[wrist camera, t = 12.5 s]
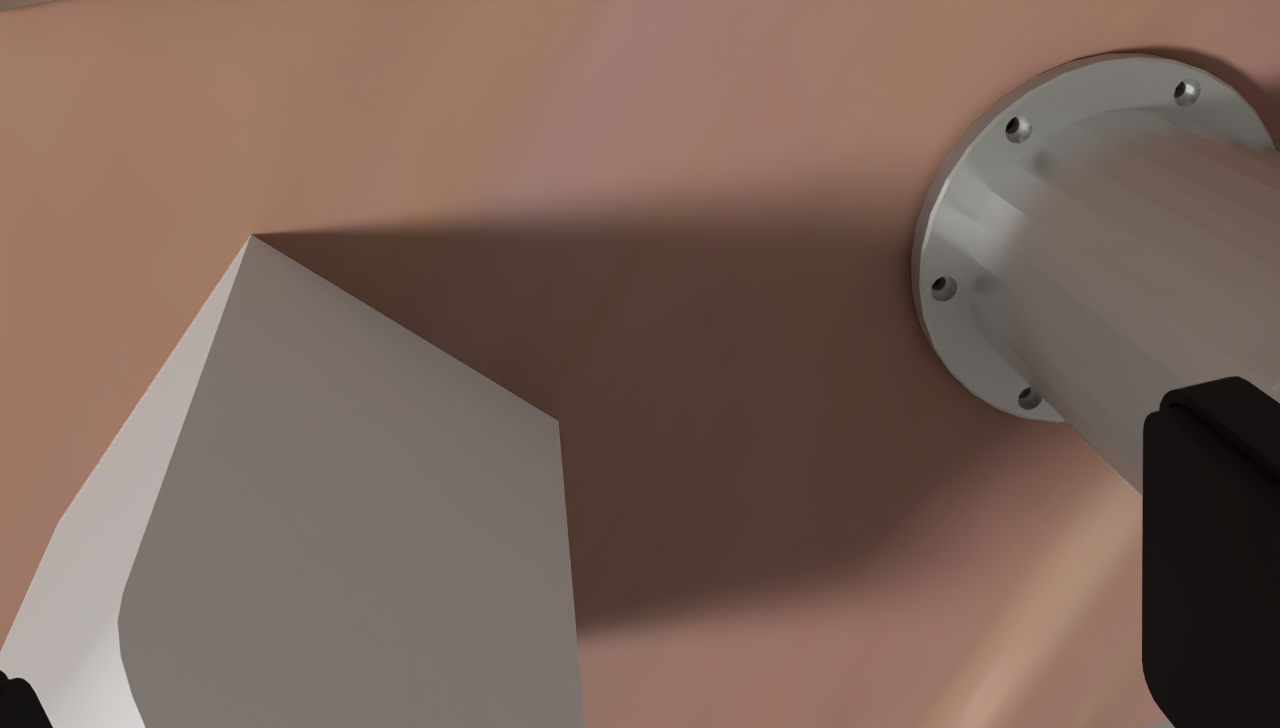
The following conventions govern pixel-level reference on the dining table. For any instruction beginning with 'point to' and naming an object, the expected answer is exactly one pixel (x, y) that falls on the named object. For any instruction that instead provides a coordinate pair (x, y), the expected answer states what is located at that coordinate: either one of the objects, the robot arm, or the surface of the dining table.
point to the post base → (18, 3)
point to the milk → (309, 536)
